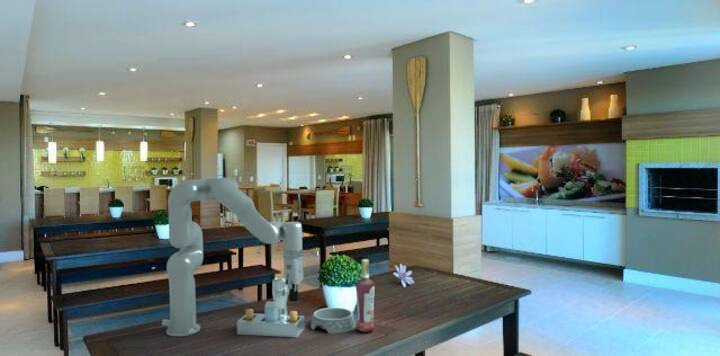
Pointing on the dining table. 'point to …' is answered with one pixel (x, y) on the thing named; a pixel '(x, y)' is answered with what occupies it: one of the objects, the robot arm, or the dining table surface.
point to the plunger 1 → (249, 314)
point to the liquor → (365, 300)
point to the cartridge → (271, 311)
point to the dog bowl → (333, 320)
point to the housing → (270, 326)
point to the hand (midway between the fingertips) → (293, 300)
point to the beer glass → (280, 295)
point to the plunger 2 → (293, 316)
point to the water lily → (403, 275)
